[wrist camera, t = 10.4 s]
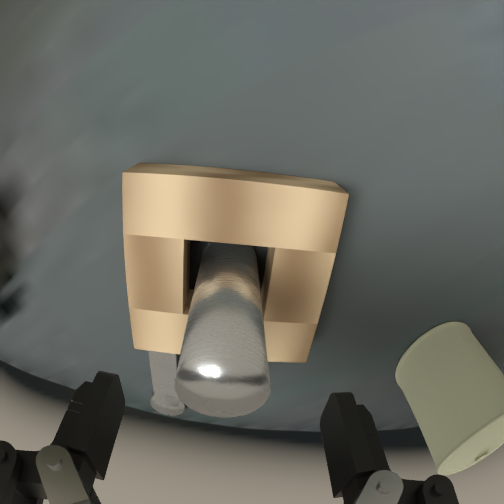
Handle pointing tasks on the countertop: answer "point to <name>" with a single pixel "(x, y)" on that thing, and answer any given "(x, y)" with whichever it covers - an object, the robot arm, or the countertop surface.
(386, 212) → the countertop surface
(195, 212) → the socket block
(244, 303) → the pin
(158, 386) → the bar
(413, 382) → the can
